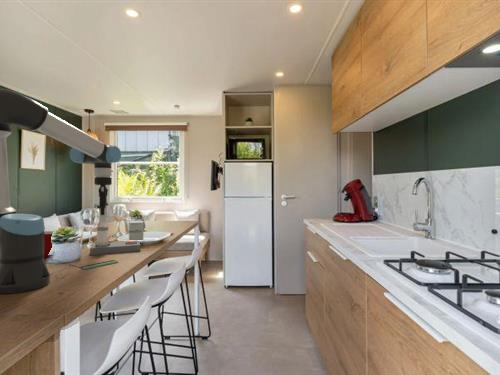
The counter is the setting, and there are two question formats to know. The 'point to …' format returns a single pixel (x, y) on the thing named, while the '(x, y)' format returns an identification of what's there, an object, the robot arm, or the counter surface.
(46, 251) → the plastic cup
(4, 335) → the counter surface
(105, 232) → the block
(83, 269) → the mat
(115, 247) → the dock
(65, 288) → the counter surface
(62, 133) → the robot arm
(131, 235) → the supplement box
